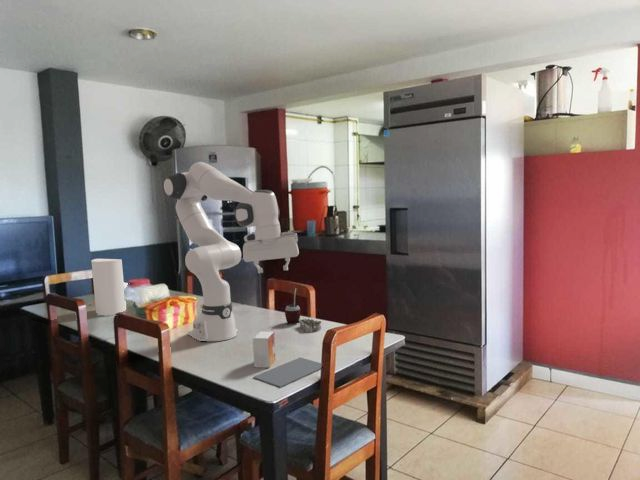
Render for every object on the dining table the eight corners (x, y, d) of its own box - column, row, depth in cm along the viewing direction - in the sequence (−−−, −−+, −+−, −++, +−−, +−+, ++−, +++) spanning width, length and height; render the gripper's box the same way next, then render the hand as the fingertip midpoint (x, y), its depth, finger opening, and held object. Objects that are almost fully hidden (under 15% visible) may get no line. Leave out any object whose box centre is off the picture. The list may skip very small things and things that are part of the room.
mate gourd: (288, 326, 217) (287, 293, 215) (282, 322, 224) (280, 290, 222) (304, 323, 220) (302, 291, 218) (297, 319, 227) (296, 287, 225)
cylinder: (112, 317, 246) (107, 262, 243) (88, 314, 253) (83, 261, 250) (139, 308, 261) (134, 256, 258) (115, 306, 269) (111, 256, 266)
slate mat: (253, 377, 160) (253, 376, 160) (300, 358, 176) (300, 357, 176) (280, 387, 151) (280, 386, 151) (327, 366, 167) (327, 365, 167)
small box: (269, 368, 168) (267, 338, 167) (253, 367, 169) (252, 338, 168) (276, 359, 176) (274, 331, 175) (261, 359, 177) (259, 331, 176)
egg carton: (322, 331, 209) (322, 321, 208) (305, 333, 206) (305, 324, 206) (314, 324, 219) (314, 315, 218) (298, 326, 216) (297, 317, 216)
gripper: (298, 230, 180) (302, 267, 181) (243, 236, 182) (248, 273, 183) (295, 231, 174) (300, 269, 175) (239, 237, 176) (244, 275, 177)
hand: (273, 271), depth 179 cm, fingers open, 8 cm apart
